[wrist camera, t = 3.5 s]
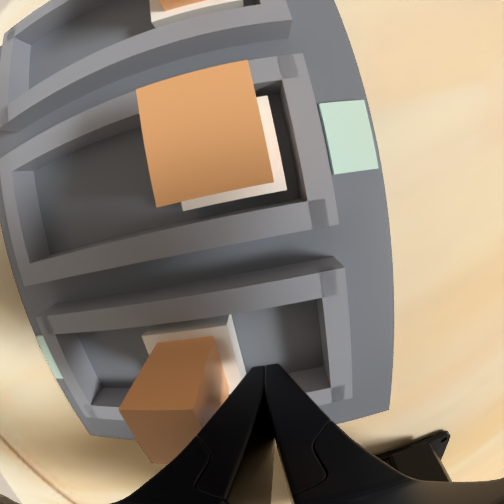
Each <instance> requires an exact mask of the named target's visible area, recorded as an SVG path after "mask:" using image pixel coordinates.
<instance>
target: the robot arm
mask: <svg viewBox="0 0 504 504" xmlns="http://www.w3.org/2000/svg"><path fill="white" fill-rule="evenodd" d="M449 439H450V434H449V433H448V431H443V432H441V433H439V434H436V435H434V436H432V437H429V438H427V439H425V440H422V441H420V442H417V443H414V444H412V445H409V446H406V447H404V448H401V449H398V450H395V451H392V452H389V453H386V454H383V455H380V456H374V455H373V454H372V453H370V452H369V451H367V450H366V449H364V448H363V447H362V446H360V445H359V444H358V443H356V442H355V441H354V440H352V439H351V438H350V437H349V436H348V435H347V434H346V433H345V432H344V431H342V430H341V429H340V428H339V427H338V426H337V425H336V424H335V423H334V422H333V421H331V419H330V418H329V417H328V416H327V415H326V414H325V413H324V412H323V410H322V409H321V408H320V407H319V406H318V405H317V404H316V403H315V402H314V401H313V400H312V399H311V398H310V397H309V396H308V395H307V394H306V393H305V392H304V390H303V389H302V388H301V387H300V386H299V385H298V384H297V383H296V382H295V381H294V380H293V379H292V377H291V376H290V375H289V374H288V373H287V372H286V371H285V370H284V369H283V368H282V367H281V365H280V364H278V363H275V364H269V365H266V366H264V365H262V366H255V367H252V368H251V369H250V370H249V371H248V372H247V374H246V375H245V376H244V378H243V379H242V380H241V381H240V383H239V384H238V385H237V387H236V388H235V389H234V390H233V392H232V393H231V394H230V395H229V397H228V398H227V399H226V400H225V401H224V403H223V404H222V405H221V406H220V408H219V409H218V410H217V411H216V412H215V414H214V415H213V416H212V417H211V418H210V420H209V421H208V422H207V423H206V424H205V426H204V427H203V428H202V429H201V430H200V431H199V433H198V434H197V436H195V437H194V438H193V439H192V440H191V442H190V443H189V444H188V445H187V446H186V447H185V448H184V449H183V450H182V451H181V452H180V453H179V455H178V456H177V457H175V458H174V459H173V460H172V461H171V462H170V463H169V464H168V465H167V466H166V467H164V468H163V469H162V470H161V471H160V472H159V473H157V474H156V475H155V476H154V477H152V478H151V479H150V480H149V481H148V482H146V483H145V484H144V485H143V486H141V487H140V488H139V489H137V490H136V491H135V492H134V493H132V494H131V495H129V496H128V497H126V498H124V499H122V500H120V501H118V502H115V503H111V504H270V503H271V490H272V476H273V461H274V445H275V440H276V444H277V448H278V452H279V456H280V460H281V464H282V468H283V472H284V476H285V480H286V483H287V487H288V491H289V495H290V499H291V502H292V504H504V478H501V479H497V480H491V481H478V482H452V481H451V479H450V477H449V475H448V473H447V471H446V469H445V468H444V466H443V464H442V462H441V458H442V456H443V454H444V451H445V449H446V446H447V444H448V441H449ZM0 504H19V503H17V502H14V501H12V500H11V499H9V498H8V497H6V496H4V495H1V494H0Z"/></svg>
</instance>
